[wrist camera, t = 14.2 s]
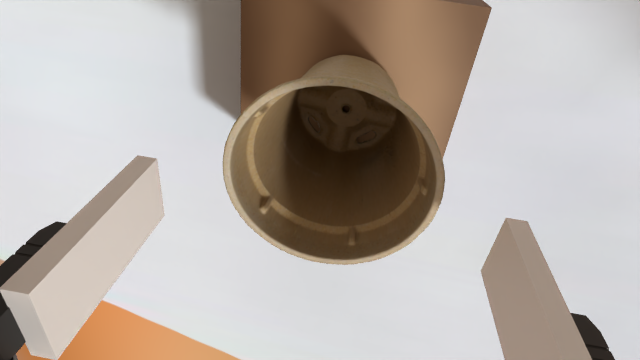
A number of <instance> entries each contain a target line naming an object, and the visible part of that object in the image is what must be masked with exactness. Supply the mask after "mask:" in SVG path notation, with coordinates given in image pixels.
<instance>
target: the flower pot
mask: <svg viewBox="0 0 640 360" xmlns="http://www.w3.org/2000/svg"><path fill="white" fill-rule="evenodd" d="M344 106H349V108H350V109H349V112H344V111H343V107H344ZM309 117H312V118H313V119H314V121H315V122H318V123H317V124H318V127H319V128H320V130H319V131H318V132H317V131H316V130H315V129H314V127H313V126H312V125H311V123H310V121H309ZM370 131H373V132H374V133H375V137H374V138H373V139H370V140H367V141H364V142H360V143H359V142H358V141H357V138H359V137H361V136H362V135H365V134H367V133H369V132H370ZM223 175H224V181H225V185H226V189H227V192H228V194H229V197H230V200H231V201H232V203H233V205H234V207H235V209H236V210H237V211H238V213H239V215H240V217H241V218H242V219H243V220H244V221H245V223H246V224H247V225H248V226H249V227H250V228H252V229H253V230H254V232H256V233H257V234H259V235H260V236H261V237H262V238H264V239H265V240H266V241H268V242H269V243H271V244H272V245H274V246H275V247H277V248H279V249H280V250H283V251H285V252H287V253H289V254H291V255H294V256H297V257H300V258H303V259H306V260H310V261H314V262H319V263H326V264H343V265H346V264H358V263H364V262H371V261H374V260H377V259H381V258H383V257H386V256H388V255H390V254H392V253H394V252H396V251H398V250H400V249H402V248H403V247H405V246H407V245H408V244H410V243H411V242H412V241H413V240H415V239H416V238H417V236H418V235H419V234H420V233H422V232H423V231H424V230H425V229H426V228H427V227H428V225H429V224H430V222H432V220H433V218H434V217H435V214H436V212H437V211H438V208H439V205H440V204H441V200H442V197H443V192H444V183H445V171H444V165H443V160H442V156H441V153H440V150H439V147H438V145H437V142H436V140H435V138H434V136H433V134H432V132H431V130H430V129H429V128H428V126H427V125H426V123H425V122H424V121H423V119H422V118H421V117H420V116H419V115H418V114H417V113H416V112H415V111H414V110H413V109H412V108H411V107H410V106H409V105H408V104H407V103H405V102H404V101H403V100H402V99H401V98H400V96H399V94H398V91H397V88H396V86H395V84H394V82H393V80H392V79H391V77H390V76H389V75H388V73H387V72H386V71H385V70H383V69H382V68H381V67H380V66H379V65H378V64H376V63H374V62H372V61H370V60H367V59H364V58H361V57H357V56H351V55H338V56H333V57H330V58H327V59H324V60H322V61H320V62H318V63H317V64H315V65H314V66H313V67H312V68H310V69H309V70H308V71H307V72H306V74H305V75H303V76H302V77H301V78H300V79H296V80H293V81H289V82H286V83H283V84H281V85H278V86H276V87H275V88H273V89H270V90H269V91H267V92H265V93H264V94H262V95H261V96H260V97H258V98H257V99H256V100H255V101H253V102H252V103H251V104H250V105H249V106H248V107H247V108H246V109H245V110H244V111H243V113H242V114H241V115H240V116H239V118H238V119H237V120H236V122H235V123H234V125H233V127H232V129H231V131H230V133H229V136H228V138H227V141H226V144H225V149H224V155H223Z"/></svg>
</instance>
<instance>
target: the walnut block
mask: <svg viewBox="0 0 640 360" xmlns="http://www.w3.org/2000/svg"><path fill="white" fill-rule="evenodd" d="M491 9H492V8H491V7H490V6H489V5H488V4H486V3H485V2H484V1H483V0H241V114H242V113H243V111H244V110H245V109H246V108H247V107H248V106H249V105H250V104H251V103H252V102H253V101H255V100H256V99H257V98H258V97H260V96H261V95H262V94H264V93H265V92H267V91H269V90H270V89H273V88H275V87H276V86H278V85H281V84H283V83H286V82H289V81H293V80H296V79H300V78H301V77H302V76H303V75H305V74H306V72H307V71H308V70H309V69H310V68H312V67H313V66H314V65H315V64H317V63H318V62H320V61H322V60H324V59H327V58H330V57H333V56H338V55H351V56H357V57H361V58H364V59H367V60H370V61H372V62H374V63H376V64H378V65H379V66H380V67H381V68H382V69H383V70H385V71H386V72H387V73H388V75H389V76H390V77H391V79H392V80H393V82H394V84H395V86H396V88H397V91H398V94H399V96H400V98H401V99H402V100H403V101H404V102H405V103H407V104H408V105H409V106H410V107H411V108H412V109H413V110H414V111H415V112H416V113H417V114H418V115H419V116H420V117H421V118H422V119H423V121H424V122H425V123H426V125H427V126H428V128H429V129H430V130H431V132H432V134H433V136H434V138H435V140H436V142H437V145H438V147H439V150H440V153H441V156H442V159H443V156H444V153H445V150H446V147H447V144H448V141H449V137H450V134H451V131H452V128H453V125H454V122H455V119H456V116H457V113H458V110H459V107H460V104H461V101H462V98H463V95H464V91H465V88H466V85H467V82H468V79H469V76H470V73H471V70H472V67H473V64H474V61H475V58H476V55H477V52H478V48H479V45H480V42H481V39H482V36H483V33H484V30H485V27H486V24H487V21H488V18H489V15H490V12H491ZM349 109H350V108H349V106H344V107H343V111H344V112H349ZM309 121H310V123H311V125H312V126H313V127H314V129H315V130H316V131H317V132H318V131H319V130H320V128H319V127H318V124H317V123H318V122H315V121H314V119H313V118H312V117H309ZM374 137H375V133H374V132H373V131H370V132H369V133H367V134H365V135H362V136H361V137H359V138H357V141H358V142H359V143H360V142H364V141H367V140H370V139H373V138H374Z"/></svg>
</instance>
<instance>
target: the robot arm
mask: <svg viewBox="0 0 640 360" xmlns="http://www.w3.org/2000/svg"><path fill="white" fill-rule="evenodd" d="M163 217H164V208H163V200H162V192H161V185H160V177H159V170H158V162H157V159H156V158H150V157H144V156H137V157H135V158H134V159H133V160H132V161H131V162H130V163H129V164H128V165H127V166H126V167H125V168H124V169H123V170H122V171H121V172H120V173H119V174H118V175H117V176H116V177H115V178H114V179H113V180H112V181H110V182H109V183H108V184H107V185H106V186H105V187H104V188H103V189H102V190H101V191H100V192H99V193H98V194H97V195H96V196H95V197H94V198H93V199H92V200H91V201H90V202H89V203H88V204H87V205H86V206H84V207H83V208H82V209H81V210H80V211H79V212H78V213H77V214H76V215H75V216H74V217H73V218H72V219H71V220H70V221H69V222H68V223H62V222H55V223H53V224H51V225H49V226H47V227H45V228H43V229H41V230H39V231H38V232H37V233H36V234H35V235H34V236H33V237H31V238H30V239H29V240H28V241H27V242H26V244H25V245H23V246H22V247H20V248H19V249H18V250H17V251H16V252H15V255H12V256H10V257H9V258H8V259H7V260H6V261H5V262H4V263H3V264H2V265H1V266H0V360H18V359H17V356H16V353H17V351H18V350H19V349H20V348H21V347H22V346H23V344H24V343H26V345H27V347H28V350H29V351H30V354H31V355H34V356H39V357H44V358H49V359H54V360H57V359H58V358H59V357H60V356H61V354H62V353H63V351H64V350H65V349H66V347H67V346H68V345H69V343H70V342H71V341H72V339H73V338H74V337H75V335H76V334H77V332H78V331H79V330H80V328H81V327H82V326H83V324H84V323H85V322H86V320H87V319H88V318H89V316H90V315H91V314H92V312H93V311H94V310H95V308H96V307H97V305H98V304H99V303H100V302H101V300H102V299H103V298H104V296H105V295H106V293H107V292H108V291H109V289H110V288H111V287H112V285H113V284H114V283H115V281H116V280H117V279H118V277H119V276H120V275H121V273H122V272H123V271H124V269H125V268H126V267H127V265H128V264H129V262H130V261H131V260H132V258H133V257H134V256H135V254H136V253H137V252H138V250H139V249H140V248H141V246H142V245H143V244H144V242H145V241H146V240H147V238H148V237H149V235H150V234H151V233H152V231H153V230H154V229H155V227H156V226H157V225H158V223H159V222H160V221H161V219H162V218H163ZM481 274H482V277H483V281H484V285H485V288H486V292H487V296H488V299H489V303H490V307H491V310H492V314H493V318H494V322H495V325H496V329H497V333H498V336H499V340H500V344H501V347H502V351H503V355H504V358H505V360H615V359H614V357H613V355H612V353H611V352H610V351H609V347H608V345H607V343H606V342H605V340H604V338H603V336H602V334H601V332H600V331H599V330H598V329H597V327H596V326H595V325H594V324H593V323H592V322H591V321H590V320H589V319H588V318H587V317H586V316H585V315H579V314H573V313H570V311H569V309H568V307H567V305H566V303H565V301H564V299H563V296H562V294H561V292H560V290H559V288H558V286H557V284H556V282H555V279H554V277H553V275H552V273H551V271H550V269H549V267H548V264H547V262H546V260H545V258H544V256H543V254H542V252H541V250H540V247H539V245H538V243H537V241H536V239H535V237H534V235H533V232H532V230H531V228H530V226H529V224H528V222H527V221H522V220H516V219H510V218H506V219H505V221H504V223H503V225H502V227H501V229H500V231H499V234H498V236H497V238H496V240H495V242H494V244H493V246H492V248H491V250H490V253H489V255H488V257H487V259H486V261H485V263H484V265H483V267H482V270H481Z"/></svg>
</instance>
